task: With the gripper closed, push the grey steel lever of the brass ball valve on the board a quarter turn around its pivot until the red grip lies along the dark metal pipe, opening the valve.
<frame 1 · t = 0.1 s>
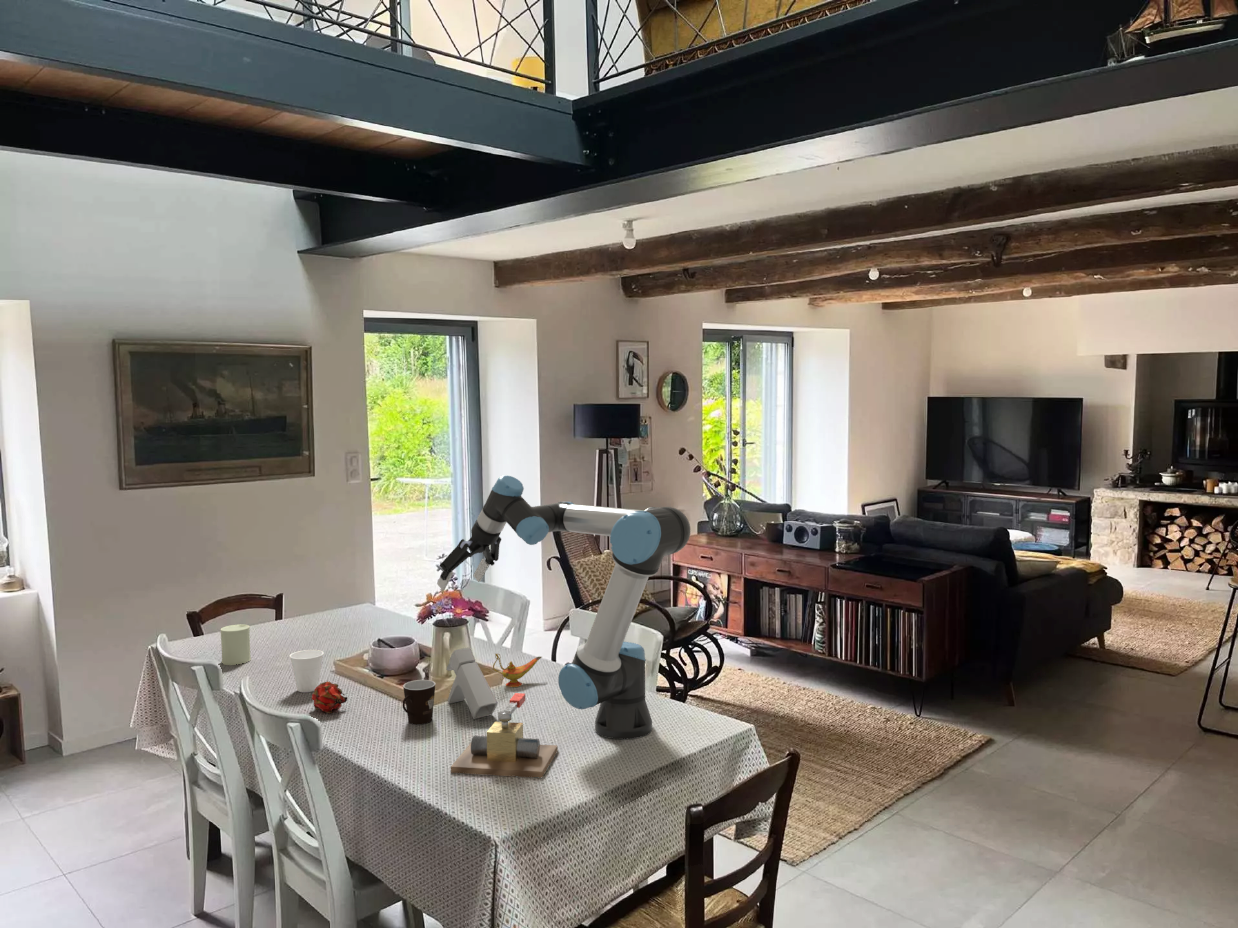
hand: (459, 582, 257), 36 cm above the table, tool tilted 35°, fingers open, 13 cm apart
dragon fruit: (329, 710, 259), on the table
cup: (307, 690, 277), on the table
ball valve: (505, 737, 220), on the valve board, point 6 cm above the table
magic lamp: (518, 683, 281), on the table
grey a-frame: (470, 711, 257), on the table
valve board: (505, 761, 220), on the table
can: (236, 661, 307), on the table
coffee mug: (415, 722, 248), on the table
valve lever: (512, 707, 226), point 11 cm above the table, hinge at -90.0°
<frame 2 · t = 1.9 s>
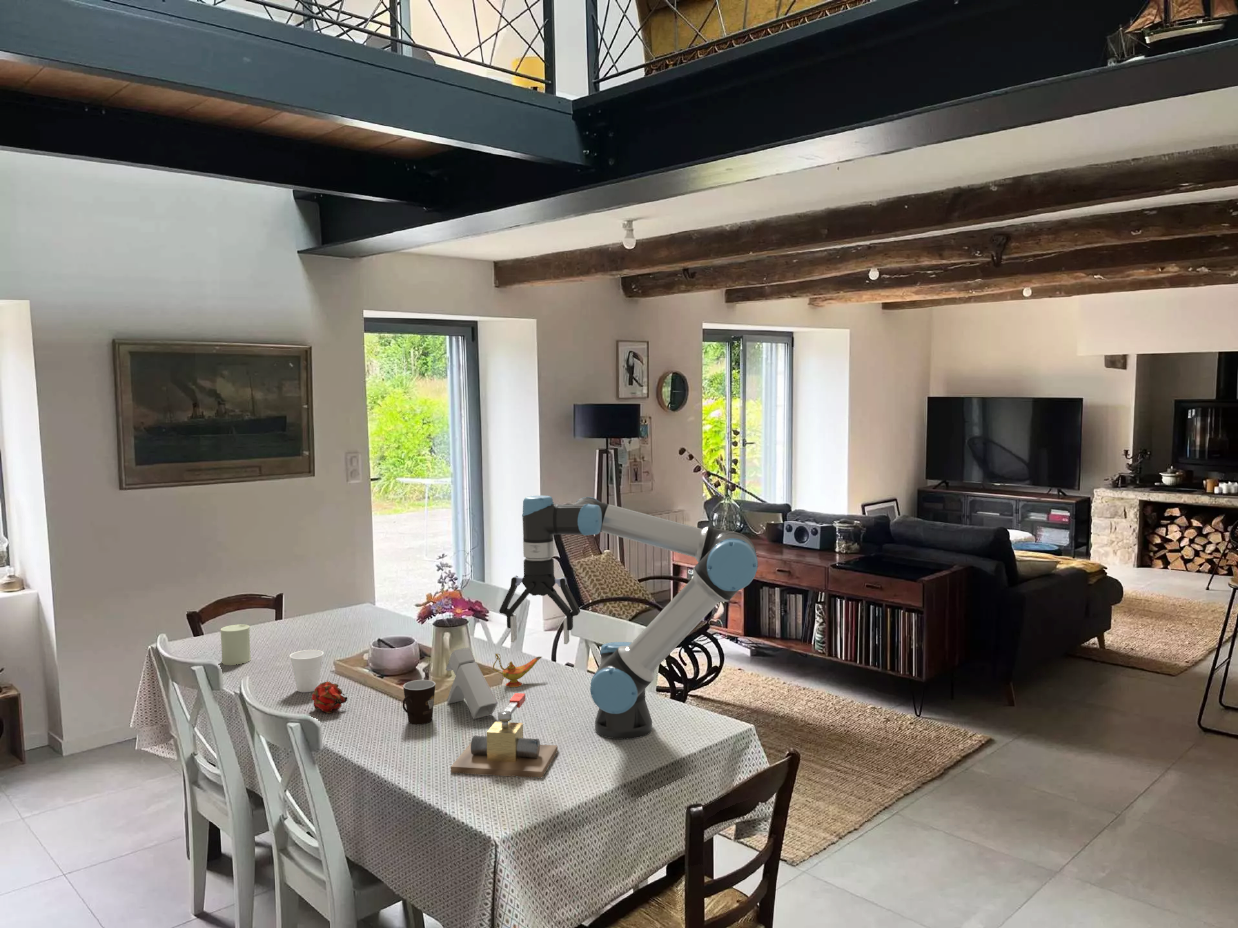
hand: (540, 641, 228), 27 cm above the table, tool pointing down, fingers open, 13 cm apart
nothing on the table moved.
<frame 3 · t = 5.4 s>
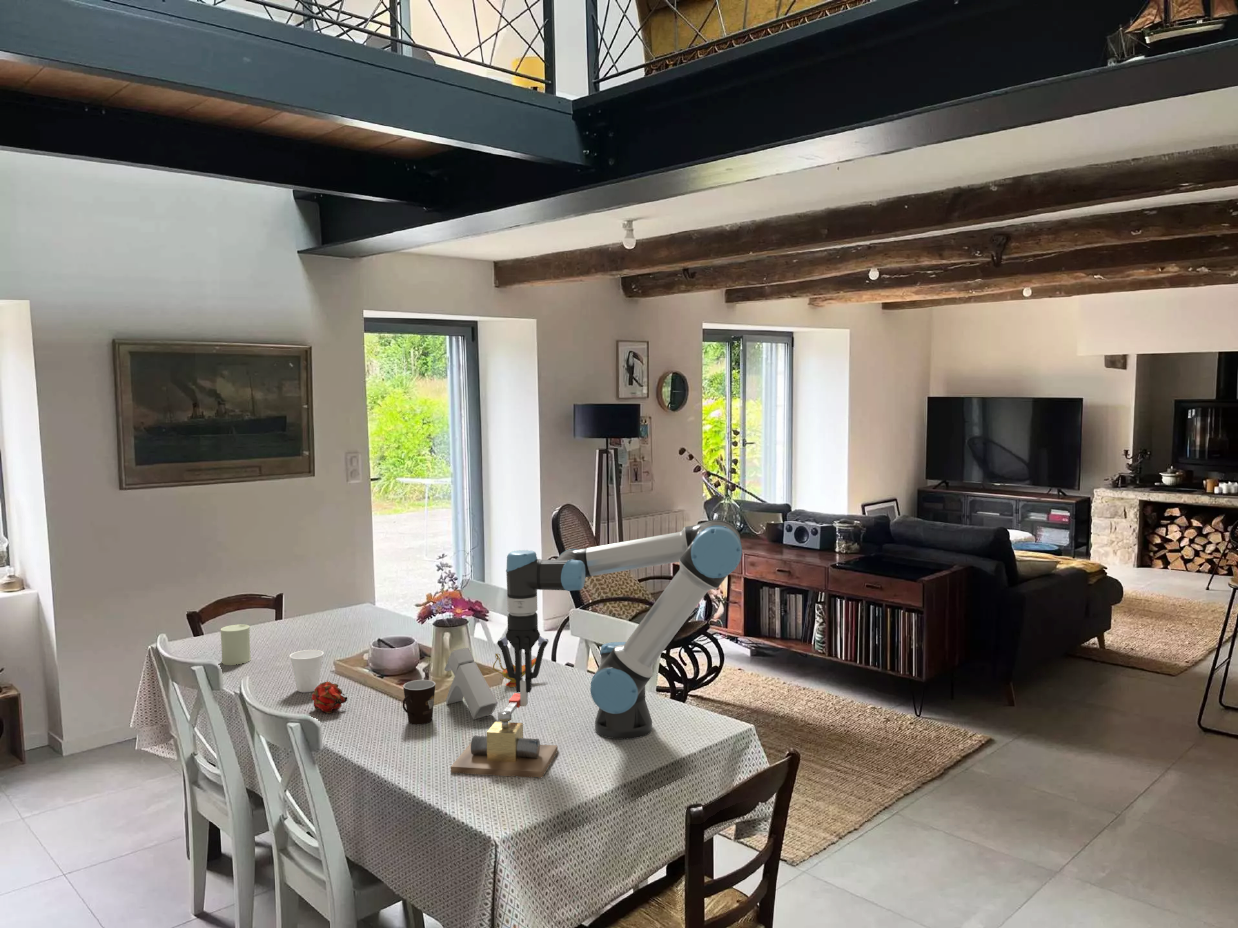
hand: (524, 704, 230), 10 cm above the table, tool pointing down, fingers closed
valve lever: (511, 707, 226), point 11 cm above the table, hinge at -89.1°, touching gripper
everything else where it was.
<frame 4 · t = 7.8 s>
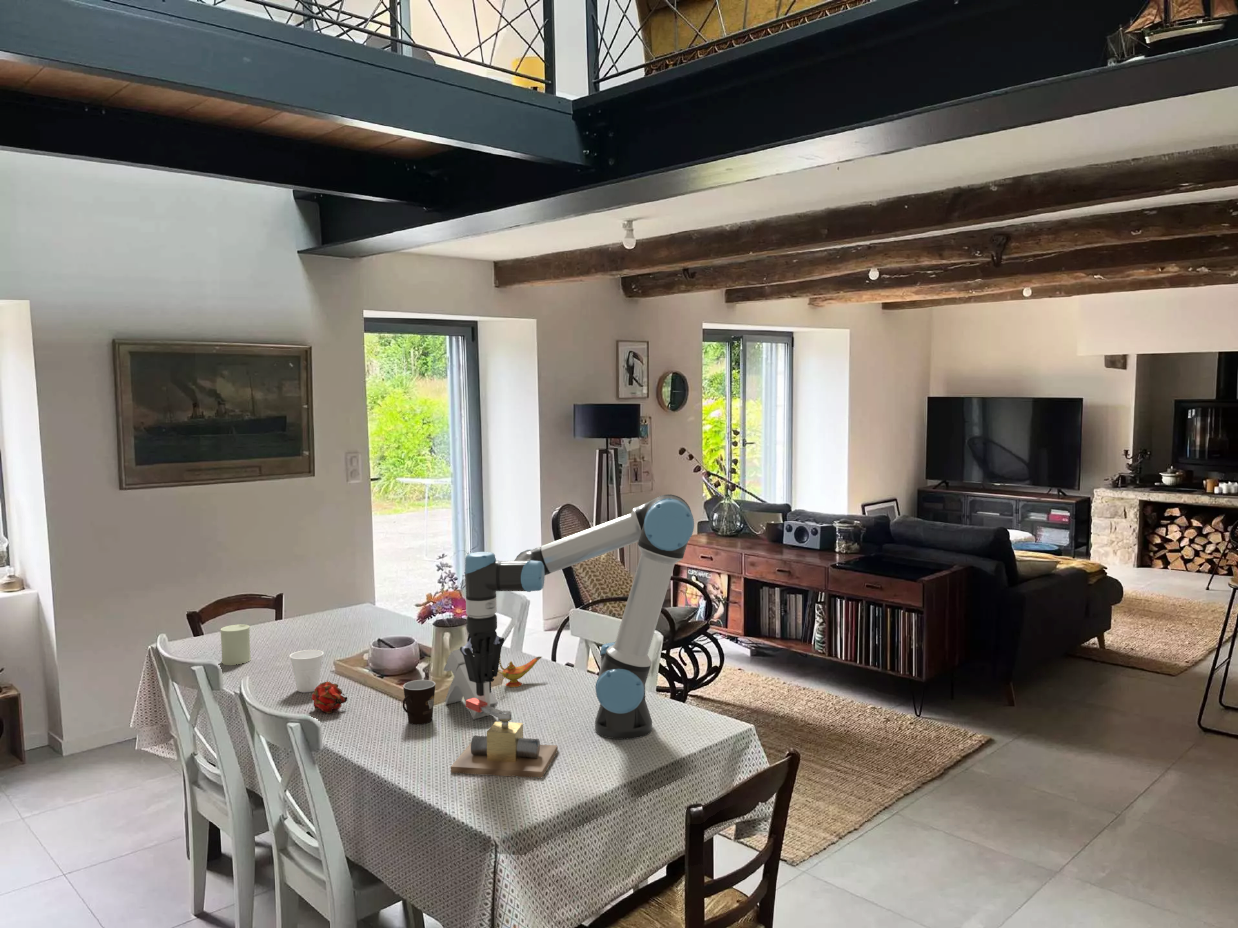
hand: (484, 706, 229), 10 cm above the table, tool pointing down, fingers closed
valve lever: (488, 709, 224), point 11 cm above the table, hinge at -36.2°, touching gripper
everything else where it was.
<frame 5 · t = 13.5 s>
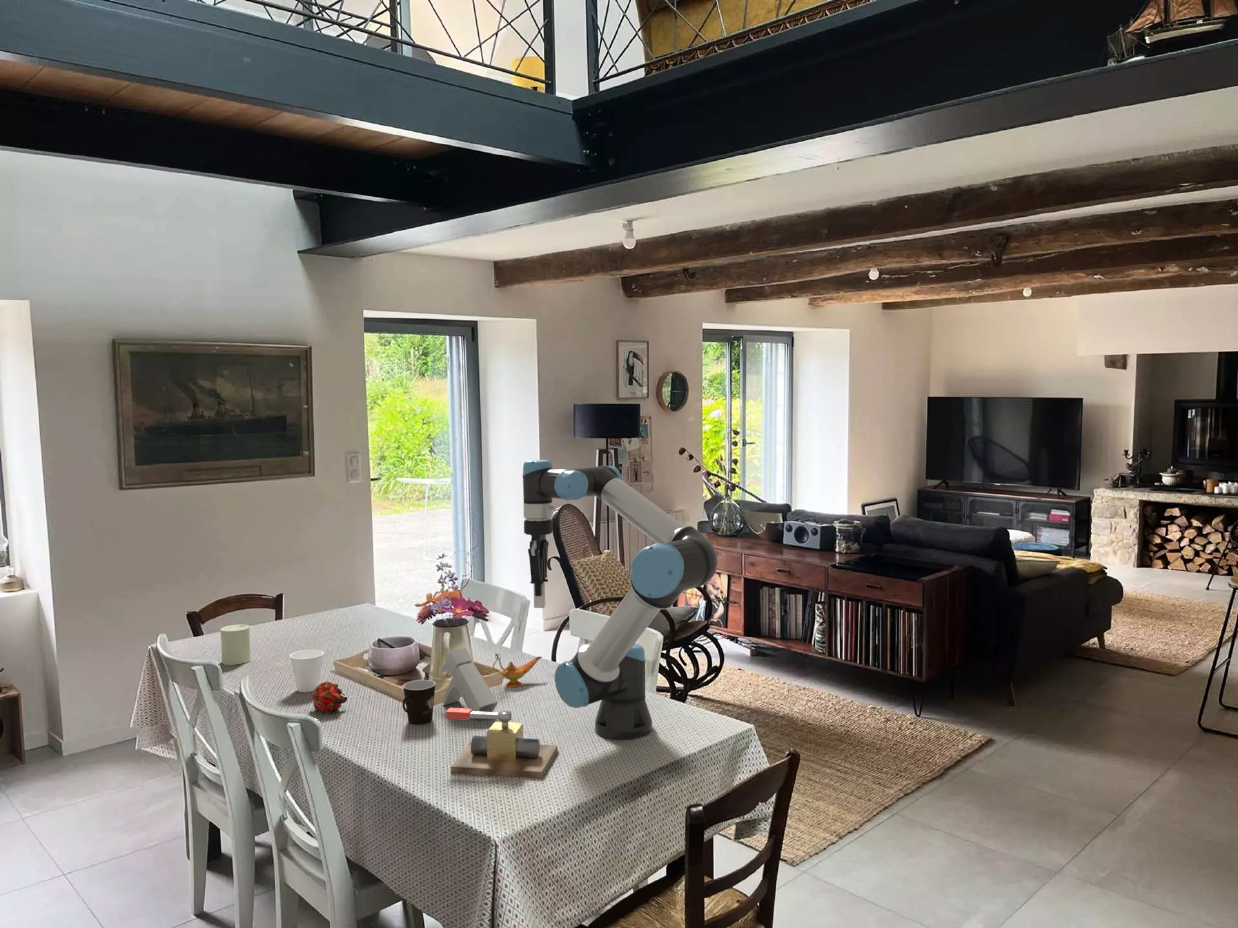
hand: (539, 607, 241), 32 cm above the table, tool pointing down, fingers closed
valve lever: (479, 714, 221), point 11 cm above the table, hinge at -0.6°
at the end: valve lever at -1° (first picture: -90°) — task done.
